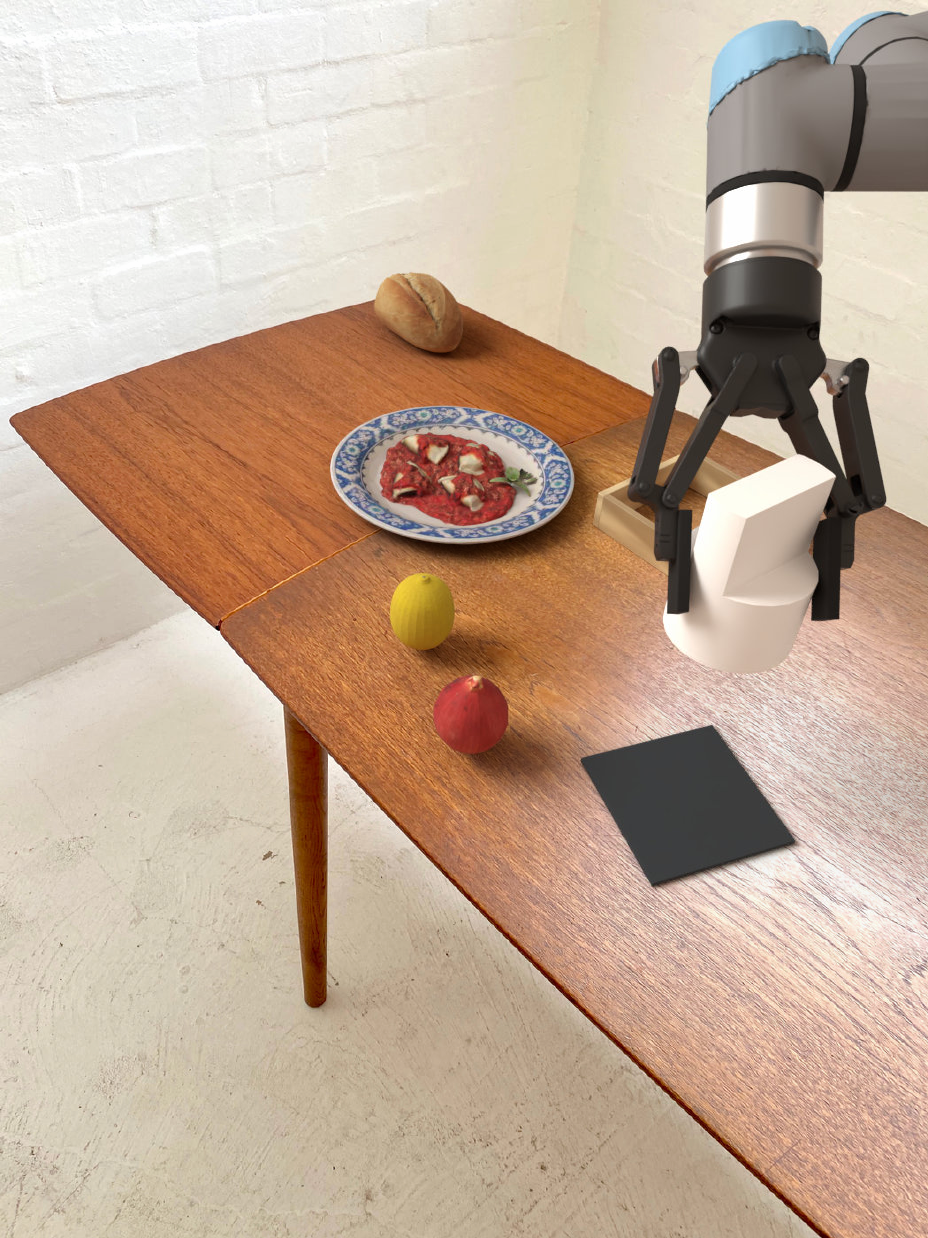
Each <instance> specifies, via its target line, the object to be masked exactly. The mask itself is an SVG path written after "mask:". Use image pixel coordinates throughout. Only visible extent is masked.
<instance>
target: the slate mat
mask: <svg viewBox="0 0 928 1238" xmlns="http://www.w3.org/2000/svg"><path fill="white" fill-rule="evenodd" d="M580 763H581V765H582V766H583V768H584V770H585V771H586V773H587V775H588V777H589V779H590V780H591V782H592V784H593V785H594V787H595V790H596V791H597V792H598V794H599V796H600V797H601V800H602V802H603V803H604V805H605V807H606V808H607V810H608V812H609V814H610V816H611V817H612V819H613V821H614V823H615V825H616V826H617V828H618V829H619V832H620V833H621V835H622V836H623V839H624V840H625V842H626V844H627V846H628V847H629V849H630V851H631V852H632V854H633V856H634V858H635V859H636V861H637V863H638V865H639V867H640V868H641V870H642V872H643V874H644V876H645V877H646V879H647V881H648V882H649V884H650V886H651V887H655V886H659V885H661V884H665V883H668V882H672V881H675V880H678V879H681V878H684V877H688V876H691V875H695V874H699V873H701V872H704V871H709V870H711V869H714V868H718V867H721V866H724V865H728V864H732V863H734V862H737V861H741V860H744V859H748V858H751V857H754V856H757V855H762V854H764V853H767V852H771V851H775V850H778V849H781V848H784V847H787V846H790V845H794V844H795V843H796V839H795V838H794V836H793V835H792V834H791V832H790V831H789V829H788V827H786V826H785V823H784V822H783V821H782V820H781V818H780V817H779V816H778V814H777V813H776V811H775V810H774V808H773V807H772V806H771V804H770V803H769V801H768V800H767V799H766V798H765V796H764V795H763V793H762V792H761V790H760V789H759V787H758V786H757V785H756V783H755V782H754V781H753V779H752V777H751V776H750V775H749V774H748V772H747V771H746V769H745V768H744V767H743V765H742V764H741V763H740V761H739V759H738V758H737V757H736V756H735V754H734V753H733V751H732V750H731V748H730V747H729V746H728V744H727V743H726V741H725V740H724V739H723V737H722V736H721V735H720V733H719V732H718V731H717V729H716V728H715V726H714V725H713V724H709V725H705V726H702V727H701V726H700V727H698V728H694V729H689V730H685V731H682V732H681V731H680V732H678V733H673V734H670V735H666V736H662V737H658V738H654V739H650V740H647V741H641V742H639V743H635V744H631V745H626V746H622V747H618V748H615V749H611V750H607V751H602V752H598V753H594V754H591V755H587V756H583V757H580Z"/></svg>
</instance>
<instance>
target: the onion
mask: <svg viewBox="0 0 928 1238" xmlns="http://www.w3.org/2000/svg"><path fill="white" fill-rule="evenodd" d="M432 711H433V712H432V713H433V714H432V715H433V725H434V728H435V730H436V732H437V734H438V736H439V738H440V740H441V741H443V743H445V744H446V745H447V746H448V747H449V748H450V749H451V750H452V751H455V752H459V753H462V754H471V755H472V754H474V755H476V754H480V753H484V752H487V751H489V750H490V749H491V748H493V747H494V746H496V744H498V743H499V742H500V741H501V739H502V738H503V736H504V735H505V733H506V731H507V729H508V726H509V703H508V701H507V699H506V697H505V696H504V693H502V690H501V689H500V687H498V686H497V685H495V684H494V683H493V682H492V681H491V680H490V679H488V678H486V677H483V676H481V675H475V674H467V675H462V676H459V677H456V678H454V679H453V680H452V681H450V682H449V683H447V684H446V685H445V686H443V688H442V689H441V691H440V692H439V695H438V696H437V698H436V699H435V702H434V704H433V710H432Z"/></svg>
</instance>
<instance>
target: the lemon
mask: <svg viewBox="0 0 928 1238" xmlns="http://www.w3.org/2000/svg"><path fill="white" fill-rule="evenodd" d="M452 593H453V592H452V591H451V590H450V587H449V586H448V585H447V583H446V582H445V581H444V580H443V579H442V578H440V577H438V576H437V575H434V574H432V573H428V572H418V573H414V574H411V575H408V576H407V577H405V578H404V579H402V581H400V583H399V584H398V585H397V586H396V588H395V590H394V592H393V595H392V597H391V601H390V607H389V620H390V624H391V628H392V631H393V633H394V635H395V637H396V638H397V639H398V640H399V641H400V642H401V643H402V644H403V645H405V647H408V648H410V649H414V650H418V651H427V650H431V649H434V648H437V647H438V646H440V645H441V644H442V643H443V642H444V641H446V640H447V638H448V637H449V635H450V633H451V631H452V629H453V627H454V622H455V615H456V607H455V602H454V597H453V594H452Z"/></svg>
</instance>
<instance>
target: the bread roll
mask: <svg viewBox="0 0 928 1238" xmlns="http://www.w3.org/2000/svg"><path fill="white" fill-rule="evenodd" d="M373 311H374V313H375V316H376V317H377V320H378V321H379V322H380V323H381V324H382V325H383V326H384V327H386V328H387V329H388V330H390V331H391V332H393V333H394V334H396V335H397V336H399V337H400V338H402V339H403V340H404V341H406V342H407V343H409V344H411V345H413V346H414V347H417V348H420V349H422V350H425V351H429V352H433V353H447V352H452V351H454V350H456V349H457V348H458V346H459V344H460V341H461V339H462V337H463V332H464V318H463V314H462V311H461V308H460V306H459V303H458V301H457V299H456V297H455V295H453V293H452V292H451V291H450V290H449V289H448V288H447V287H446V286H445V285H444V284H443V283H442V282H441V281H440V280H438V279H437V278H435V277H434V276H433V275H431V274H429V273H423V272H422V273H421V272H412V271H411V272H408V273H407V272H405V273H395V274H391V275H390V276H387V277H385V279H383V281H382V282H381V284H380V285H379V287H378V289H377V292H376V296H375V299H374V303H373Z"/></svg>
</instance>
